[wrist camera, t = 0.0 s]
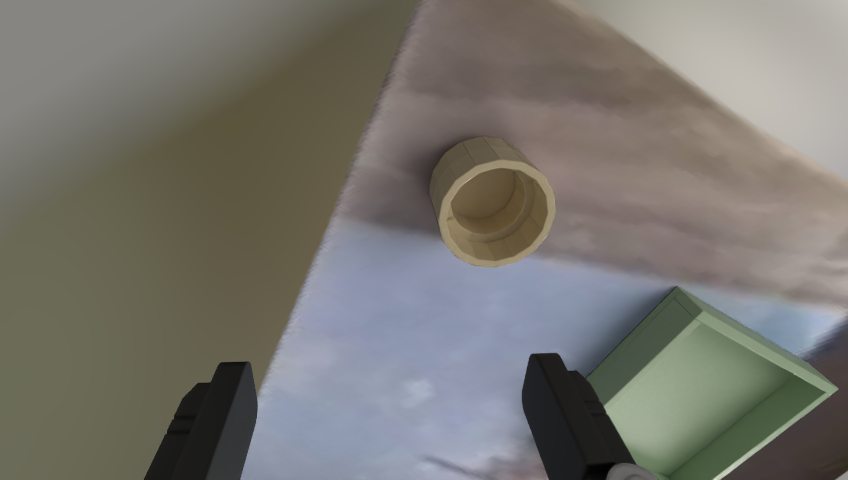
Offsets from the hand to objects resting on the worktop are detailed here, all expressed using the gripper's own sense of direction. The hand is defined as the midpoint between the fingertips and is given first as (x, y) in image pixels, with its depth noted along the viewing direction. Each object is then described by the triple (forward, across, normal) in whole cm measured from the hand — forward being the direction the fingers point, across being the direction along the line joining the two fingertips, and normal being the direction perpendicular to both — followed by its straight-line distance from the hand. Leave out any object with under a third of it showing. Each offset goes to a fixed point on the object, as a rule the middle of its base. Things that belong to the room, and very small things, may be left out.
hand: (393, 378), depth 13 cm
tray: (+16, -26, +20) cm, 37 cm away
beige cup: (+16, -6, 0) cm, 18 cm away
